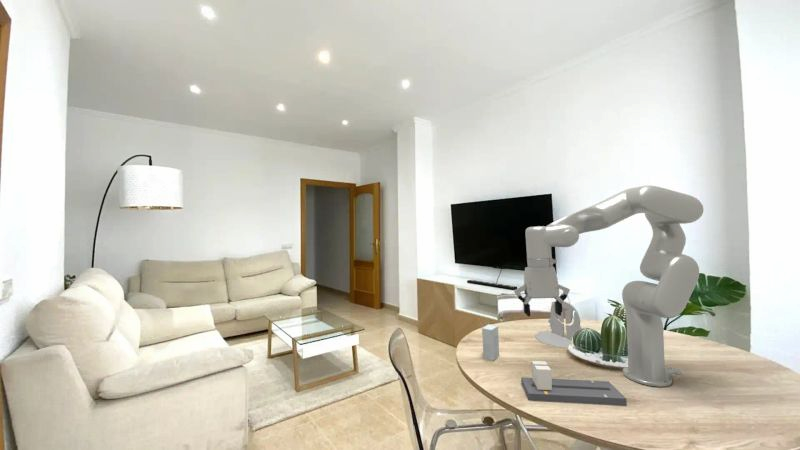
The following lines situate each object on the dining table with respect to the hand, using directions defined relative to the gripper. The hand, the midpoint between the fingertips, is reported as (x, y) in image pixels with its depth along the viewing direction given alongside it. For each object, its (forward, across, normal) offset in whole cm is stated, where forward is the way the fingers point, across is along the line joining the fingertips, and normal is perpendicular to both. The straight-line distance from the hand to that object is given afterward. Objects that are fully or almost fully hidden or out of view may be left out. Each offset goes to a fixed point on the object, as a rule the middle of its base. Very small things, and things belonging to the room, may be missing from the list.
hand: (543, 314), depth 103 cm
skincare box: (+21, +15, -17) cm, 31 cm away
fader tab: (+19, +4, +8) cm, 21 cm away
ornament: (+22, -15, -37) cm, 46 cm away
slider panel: (+22, -4, +8) cm, 23 cm away
